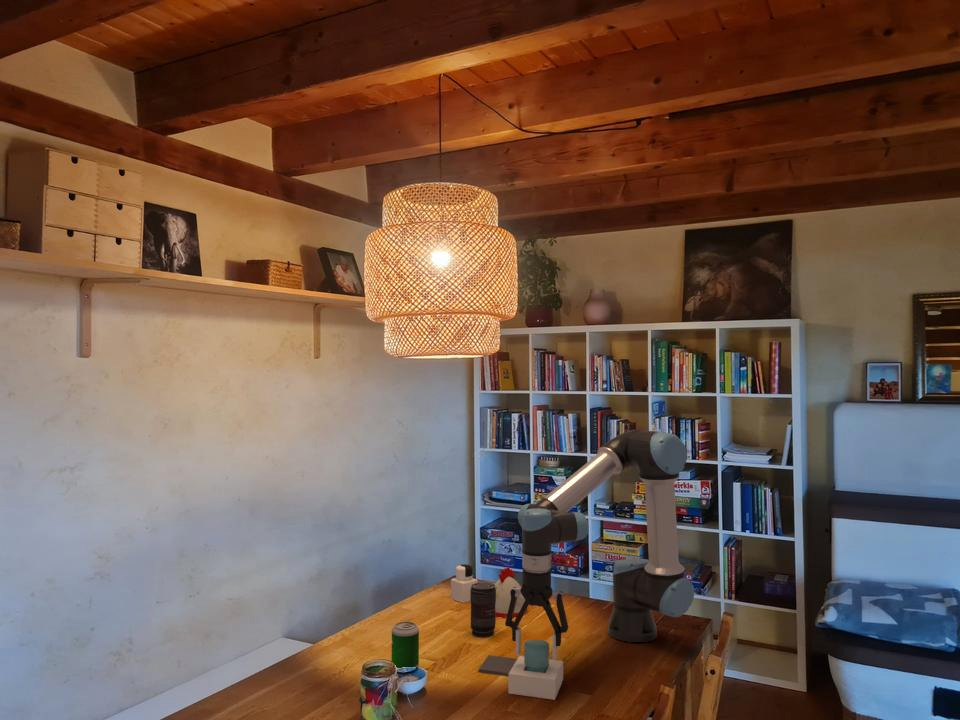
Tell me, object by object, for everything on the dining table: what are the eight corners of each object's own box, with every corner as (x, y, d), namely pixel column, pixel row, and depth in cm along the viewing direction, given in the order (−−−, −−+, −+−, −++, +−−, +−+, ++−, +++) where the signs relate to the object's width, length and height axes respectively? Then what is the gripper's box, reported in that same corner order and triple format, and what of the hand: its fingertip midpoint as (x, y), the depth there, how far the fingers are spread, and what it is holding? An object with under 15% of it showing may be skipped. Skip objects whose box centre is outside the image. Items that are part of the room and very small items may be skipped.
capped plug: (550, 682, 186) (551, 641, 186) (546, 693, 180) (546, 650, 180) (527, 679, 188) (527, 638, 188) (521, 690, 182) (522, 647, 182)
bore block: (563, 679, 188) (563, 661, 188) (554, 699, 176) (554, 679, 176) (519, 674, 191) (519, 655, 191) (508, 693, 180) (508, 673, 180)
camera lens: (496, 629, 225) (497, 581, 225) (494, 638, 217) (495, 589, 217) (471, 628, 226) (471, 581, 226) (468, 637, 218) (469, 588, 218)
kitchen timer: (478, 612, 241) (478, 568, 241) (501, 602, 252) (502, 560, 252) (512, 621, 232) (512, 575, 232) (534, 610, 243) (534, 566, 243)
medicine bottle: (465, 594, 260) (465, 562, 260) (478, 599, 254) (478, 566, 254) (450, 598, 255) (450, 565, 255) (462, 603, 250) (462, 569, 250)
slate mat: (522, 662, 199) (522, 659, 199) (514, 676, 190) (514, 673, 190) (488, 657, 202) (488, 655, 202) (478, 672, 193) (478, 669, 193)
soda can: (424, 668, 195) (424, 624, 195) (404, 677, 189) (404, 632, 189) (406, 661, 200) (406, 618, 200) (385, 669, 194) (386, 625, 194)
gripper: (492, 569, 184) (492, 656, 184) (575, 576, 178) (575, 666, 177) (500, 562, 191) (500, 645, 191) (580, 568, 185) (580, 655, 184)
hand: (536, 655), depth 184 cm, fingers open, 9 cm apart
